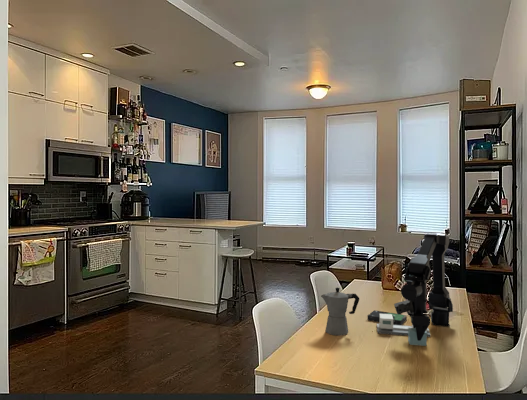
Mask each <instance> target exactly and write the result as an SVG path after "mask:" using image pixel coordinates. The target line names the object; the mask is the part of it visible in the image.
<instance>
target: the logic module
mask: <svg viewBox="0 0 527 400" xmlns="http://www.w3.org/2000/svg"><path fill="white" fill-rule="evenodd" d="M427 339H428V337H427V332H426V331H425V333H424V335H423V337H422V339H421V341H418V340H417V334H416V328H408V336H407V340H408V344H409V345H412V346H425V347H427V342H428V340H427Z"/></svg>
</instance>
